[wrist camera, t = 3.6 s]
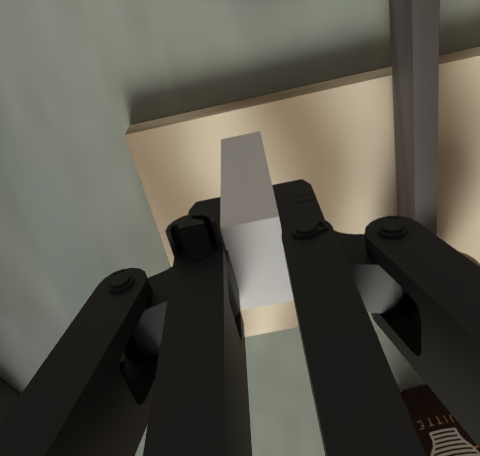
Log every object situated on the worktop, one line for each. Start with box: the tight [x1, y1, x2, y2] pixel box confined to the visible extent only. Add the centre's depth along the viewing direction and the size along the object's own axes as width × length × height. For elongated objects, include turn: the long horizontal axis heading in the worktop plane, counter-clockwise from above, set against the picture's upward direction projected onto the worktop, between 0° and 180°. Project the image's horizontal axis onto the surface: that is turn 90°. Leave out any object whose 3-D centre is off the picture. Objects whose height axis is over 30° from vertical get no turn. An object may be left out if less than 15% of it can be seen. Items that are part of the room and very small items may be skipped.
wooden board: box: [125, 47, 480, 337], centre depth 25 cm, size 28×14×2 cm, turn 102°
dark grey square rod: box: [389, 0, 480, 267], centre depth 21 cm, size 5×17×4 cm, turn 12°
